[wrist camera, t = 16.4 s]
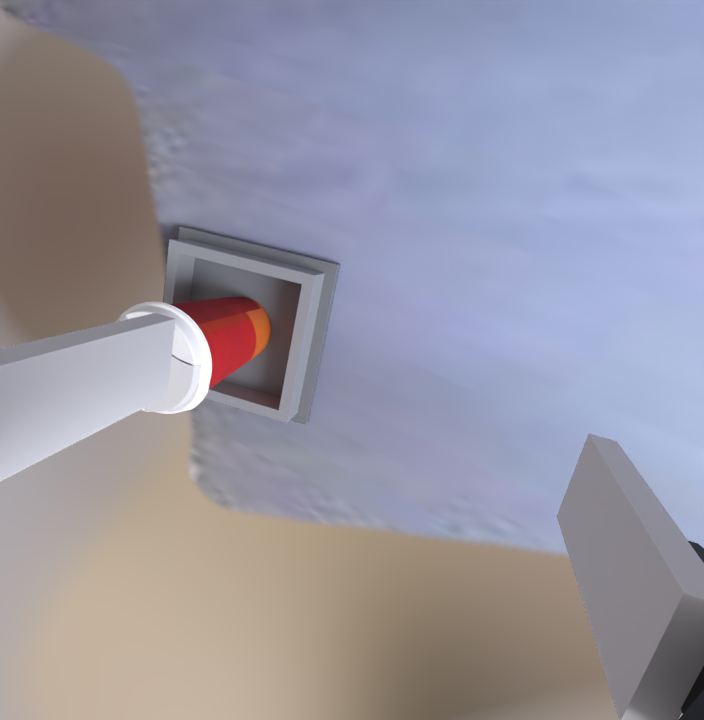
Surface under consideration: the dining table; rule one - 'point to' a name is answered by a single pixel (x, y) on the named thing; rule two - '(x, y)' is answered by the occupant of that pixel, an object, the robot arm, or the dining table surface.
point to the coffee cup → (206, 344)
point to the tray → (279, 299)
